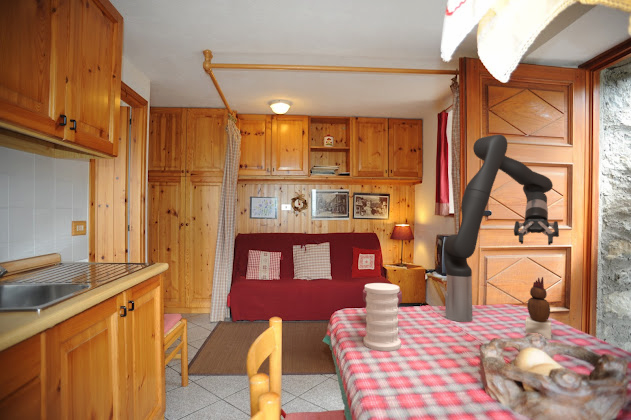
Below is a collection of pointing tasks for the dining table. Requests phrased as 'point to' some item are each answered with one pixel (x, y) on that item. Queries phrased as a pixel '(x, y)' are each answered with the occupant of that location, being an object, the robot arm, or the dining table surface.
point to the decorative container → (382, 317)
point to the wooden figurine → (538, 302)
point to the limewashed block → (538, 327)
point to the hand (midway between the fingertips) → (535, 242)
